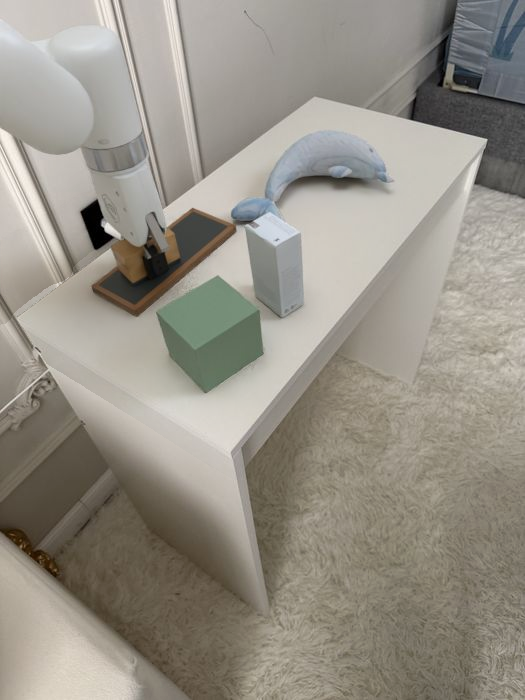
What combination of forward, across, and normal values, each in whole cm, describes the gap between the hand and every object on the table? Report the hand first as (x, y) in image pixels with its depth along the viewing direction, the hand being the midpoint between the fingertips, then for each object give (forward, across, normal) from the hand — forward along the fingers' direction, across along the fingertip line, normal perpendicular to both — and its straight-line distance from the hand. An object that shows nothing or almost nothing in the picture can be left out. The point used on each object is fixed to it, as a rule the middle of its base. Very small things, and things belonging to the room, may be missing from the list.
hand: (149, 265), depth 76 cm
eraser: (0, 0, 0) cm, 0 cm away
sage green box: (+2, +19, -2) cm, 19 cm away
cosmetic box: (+2, +17, +10) cm, 20 cm away
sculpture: (+2, +4, +29) cm, 30 cm away
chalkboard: (+2, -1, +3) cm, 4 cm away
